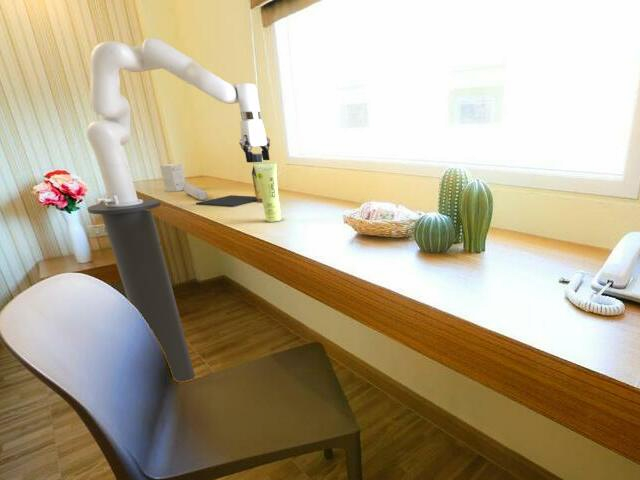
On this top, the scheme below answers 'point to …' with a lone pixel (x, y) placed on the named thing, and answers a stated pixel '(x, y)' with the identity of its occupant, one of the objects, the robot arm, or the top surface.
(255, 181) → the sauce bottle
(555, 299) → the top surface
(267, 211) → the tube
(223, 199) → the mat
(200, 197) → the tube
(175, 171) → the small box
